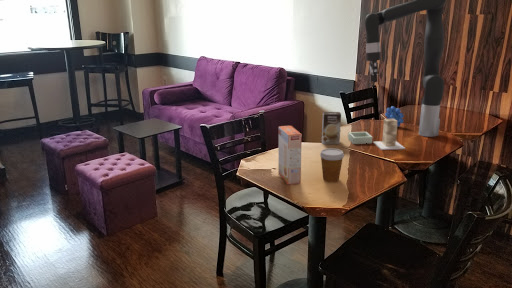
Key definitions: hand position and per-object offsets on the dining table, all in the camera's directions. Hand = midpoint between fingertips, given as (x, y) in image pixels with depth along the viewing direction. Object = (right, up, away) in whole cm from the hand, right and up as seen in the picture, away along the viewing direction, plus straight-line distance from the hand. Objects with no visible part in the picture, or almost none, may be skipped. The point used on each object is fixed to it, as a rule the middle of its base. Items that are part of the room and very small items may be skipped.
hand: (374, 81), depth 216 cm
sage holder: (-10, -33, -6) cm, 35 cm away
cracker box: (-51, -49, -53) cm, 89 cm away
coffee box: (-25, -34, -8) cm, 43 cm away
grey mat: (+3, -35, -16) cm, 39 cm away
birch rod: (+3, -35, -16) cm, 38 cm away
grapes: (+17, -24, +20) cm, 36 cm away
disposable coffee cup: (-34, -49, -56) cm, 82 cm away
